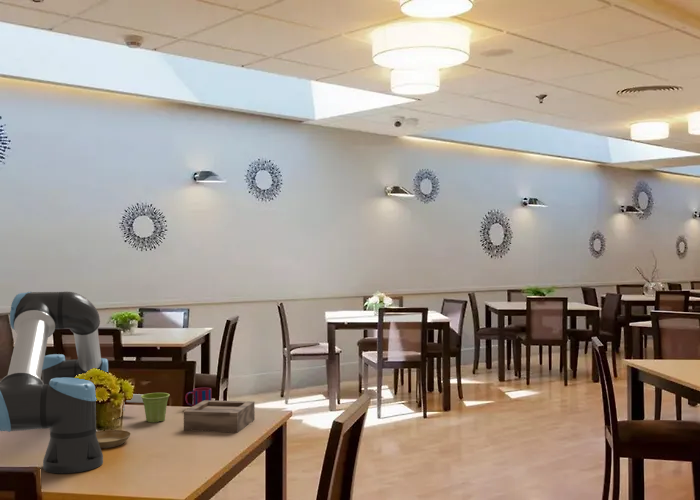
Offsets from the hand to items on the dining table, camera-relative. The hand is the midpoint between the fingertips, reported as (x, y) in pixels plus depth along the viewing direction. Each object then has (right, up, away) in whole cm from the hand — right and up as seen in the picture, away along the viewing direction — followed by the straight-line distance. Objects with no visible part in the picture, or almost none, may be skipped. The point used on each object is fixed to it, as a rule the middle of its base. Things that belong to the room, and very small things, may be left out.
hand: (134, 402), depth 254 cm
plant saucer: (+1, -6, -32) cm, 32 cm away
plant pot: (+8, -6, -2) cm, 10 cm away
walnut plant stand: (+31, -6, -9) cm, 33 cm away
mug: (+18, -6, +18) cm, 26 cm away
